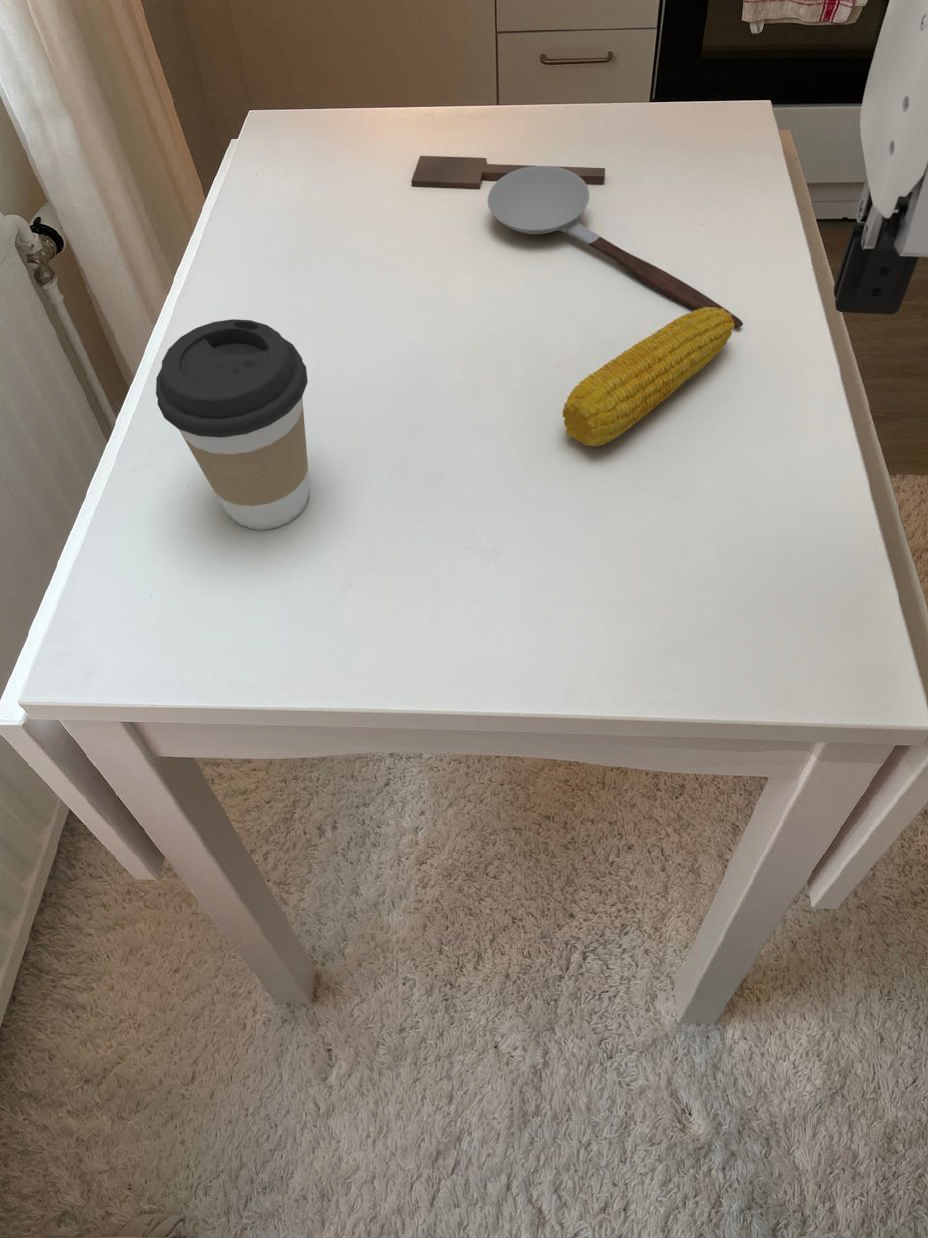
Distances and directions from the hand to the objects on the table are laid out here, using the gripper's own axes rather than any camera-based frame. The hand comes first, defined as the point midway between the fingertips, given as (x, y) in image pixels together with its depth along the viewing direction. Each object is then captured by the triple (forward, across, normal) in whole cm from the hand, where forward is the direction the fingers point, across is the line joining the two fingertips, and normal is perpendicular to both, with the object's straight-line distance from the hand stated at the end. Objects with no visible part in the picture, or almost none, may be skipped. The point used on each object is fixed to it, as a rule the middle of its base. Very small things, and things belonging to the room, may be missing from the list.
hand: (864, 303), depth 51 cm
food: (+27, +24, +10) cm, 37 cm away
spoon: (+27, +44, +14) cm, 54 cm away
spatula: (+27, +60, +27) cm, 71 cm away
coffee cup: (+27, +7, +41) cm, 50 cm away
